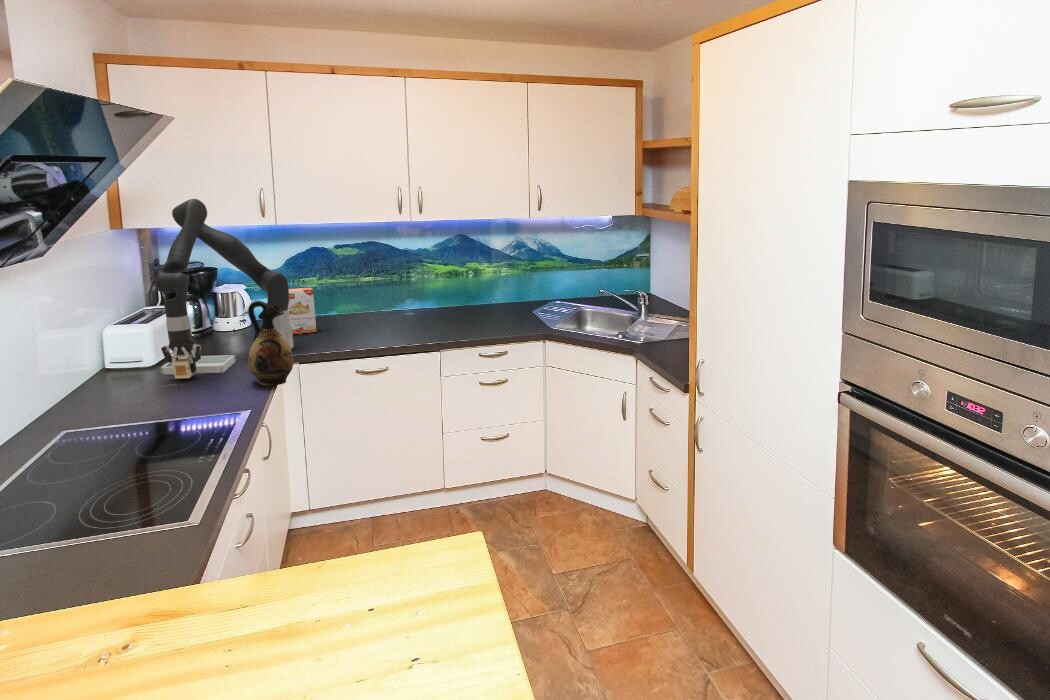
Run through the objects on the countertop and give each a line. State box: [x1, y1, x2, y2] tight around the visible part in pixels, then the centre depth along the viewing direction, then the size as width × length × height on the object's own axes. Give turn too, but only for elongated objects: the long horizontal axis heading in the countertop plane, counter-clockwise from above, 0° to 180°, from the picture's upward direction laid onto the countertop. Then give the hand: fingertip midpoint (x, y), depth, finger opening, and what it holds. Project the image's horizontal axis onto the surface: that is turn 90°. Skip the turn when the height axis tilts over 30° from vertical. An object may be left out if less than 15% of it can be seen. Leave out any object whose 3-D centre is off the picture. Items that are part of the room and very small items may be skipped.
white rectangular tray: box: [160, 354, 237, 376], centre depth 269 cm, size 23×15×4 cm, turn 95°
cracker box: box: [288, 287, 317, 336], centre depth 322 cm, size 14×6×21 cm, turn 114°
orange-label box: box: [173, 357, 197, 379], centre depth 255 cm, size 7×5×6 cm
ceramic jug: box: [247, 300, 294, 387], centre depth 250 cm, size 17×15×30 cm
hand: (185, 372), depth 256 cm, fingers closed on orange-label box, 5 cm apart
